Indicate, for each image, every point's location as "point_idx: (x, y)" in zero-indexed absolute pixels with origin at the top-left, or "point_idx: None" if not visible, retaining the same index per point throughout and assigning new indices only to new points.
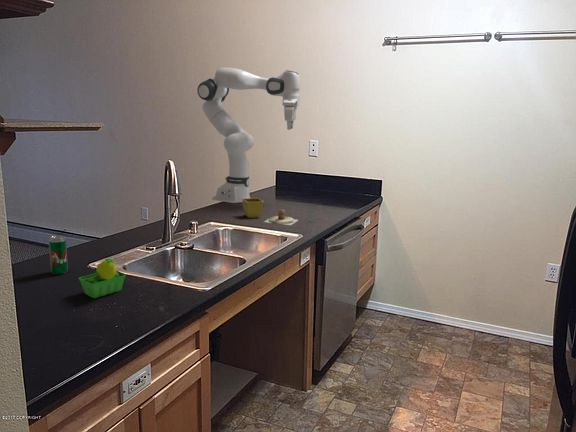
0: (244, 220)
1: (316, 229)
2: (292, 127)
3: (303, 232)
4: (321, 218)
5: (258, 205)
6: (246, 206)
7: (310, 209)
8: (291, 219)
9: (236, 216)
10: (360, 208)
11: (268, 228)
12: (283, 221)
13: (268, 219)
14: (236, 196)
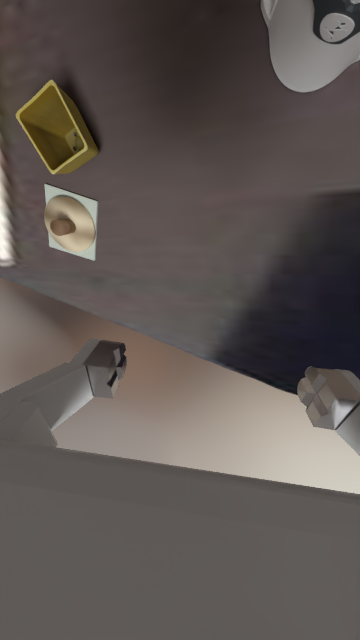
0: None
1: (53, 288)
2: (303, 402)
3: (25, 267)
4: (128, 300)
5: (48, 158)
6: (33, 115)
7: (198, 285)
8: (74, 247)
9: (72, 84)
10: (219, 364)
11: (12, 200)
12: (51, 231)
13: (69, 194)
14: (277, 3)
